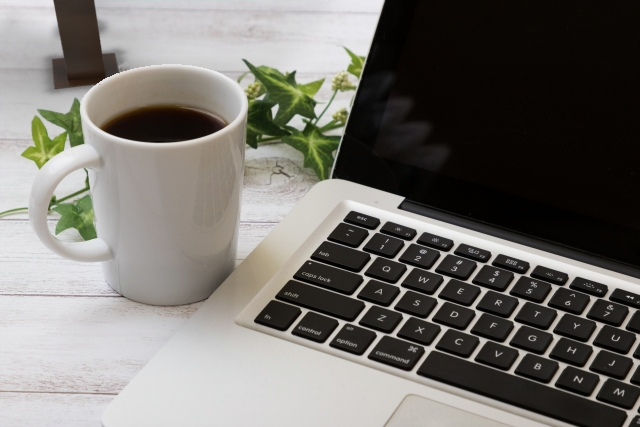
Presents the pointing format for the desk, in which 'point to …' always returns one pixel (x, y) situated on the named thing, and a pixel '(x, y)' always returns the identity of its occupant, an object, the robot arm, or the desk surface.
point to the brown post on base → (80, 46)
